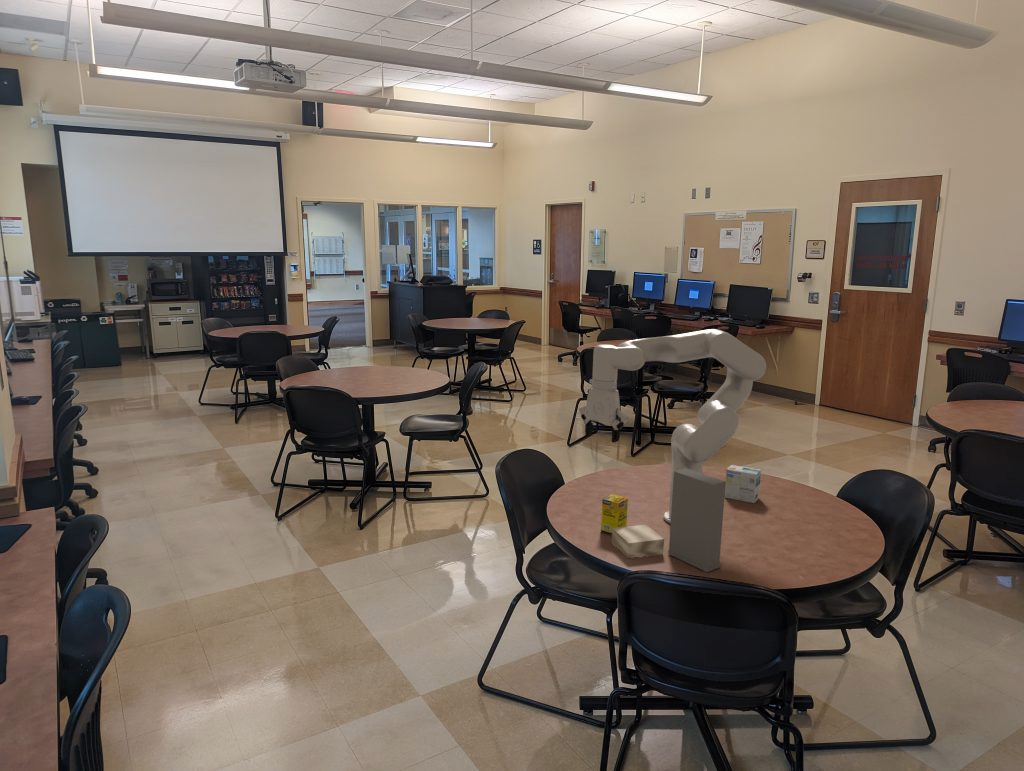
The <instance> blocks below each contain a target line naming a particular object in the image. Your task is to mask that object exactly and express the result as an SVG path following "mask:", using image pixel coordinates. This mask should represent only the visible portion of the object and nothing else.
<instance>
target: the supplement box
mask: <svg viewBox="0 0 1024 771" xmlns="http://www.w3.org/2000/svg"><path fill="white" fill-rule="evenodd" d="M628 503H629V498H628V497H625V496H621V495H617V494H614V493H611V494H610V495H609V494H608V496H606V497H604V498H602V500H601V522H600V523H601V524H600V532H601V533H602V534H606V535H609V536H612V528H619V527H627V521H628Z"/></svg>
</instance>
